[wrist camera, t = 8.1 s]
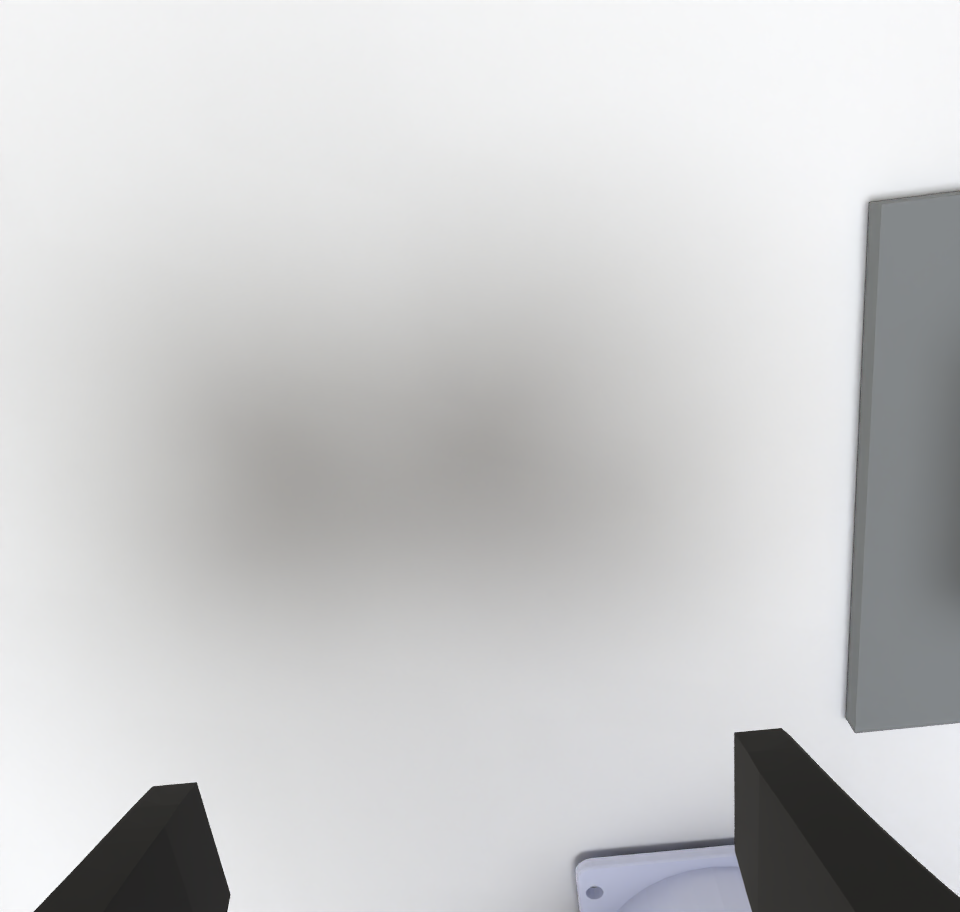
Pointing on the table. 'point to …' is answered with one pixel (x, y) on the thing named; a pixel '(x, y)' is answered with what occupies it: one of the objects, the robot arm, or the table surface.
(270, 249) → the table surface
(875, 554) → the charcoal mat
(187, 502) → the table surface
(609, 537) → the table surface
